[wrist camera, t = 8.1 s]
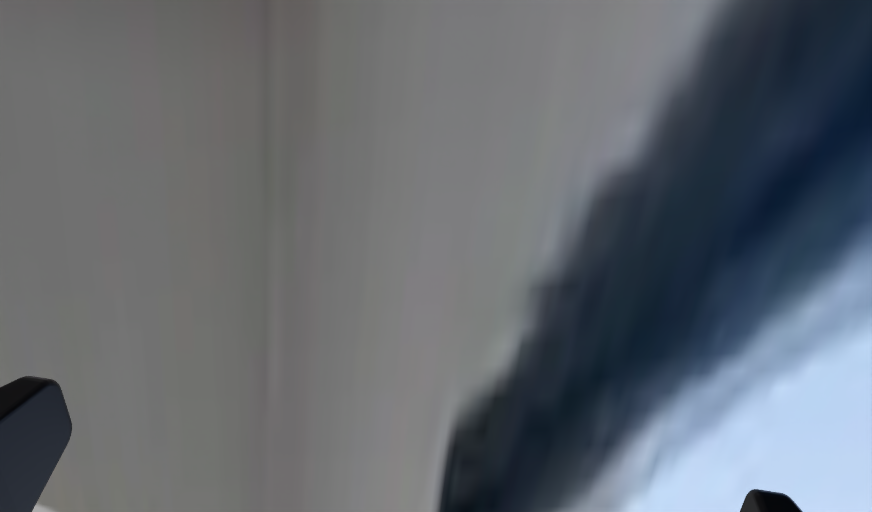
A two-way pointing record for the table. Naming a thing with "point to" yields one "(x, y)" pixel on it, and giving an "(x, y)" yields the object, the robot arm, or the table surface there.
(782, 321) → the table surface
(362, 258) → the table surface
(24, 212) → the table surface
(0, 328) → the table surface
